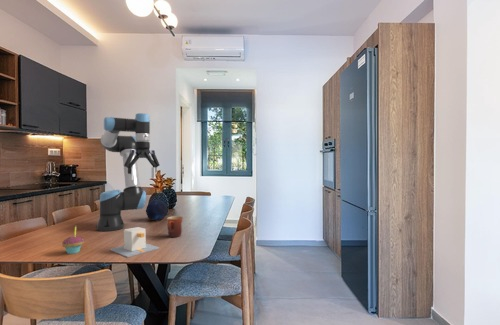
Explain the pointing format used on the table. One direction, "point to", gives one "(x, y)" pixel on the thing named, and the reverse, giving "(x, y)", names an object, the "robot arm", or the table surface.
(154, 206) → the decorative orb
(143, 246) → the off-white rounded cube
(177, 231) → the mug
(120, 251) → the post base
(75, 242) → the cupcake
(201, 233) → the table surface
